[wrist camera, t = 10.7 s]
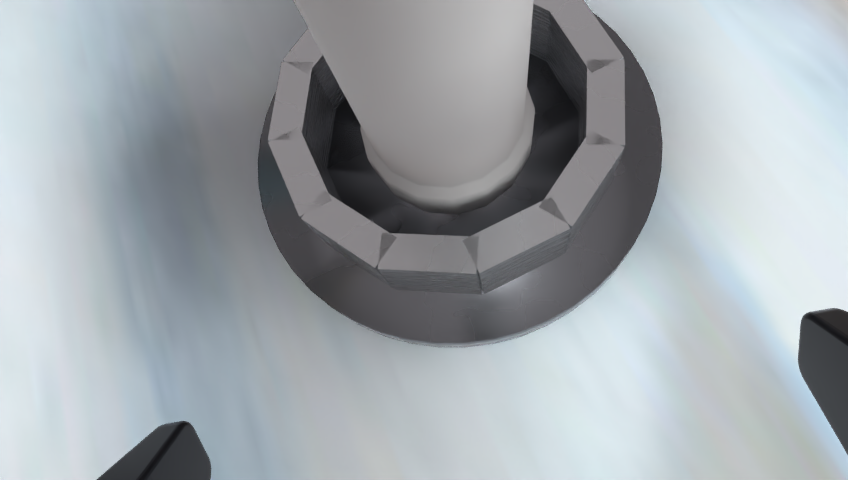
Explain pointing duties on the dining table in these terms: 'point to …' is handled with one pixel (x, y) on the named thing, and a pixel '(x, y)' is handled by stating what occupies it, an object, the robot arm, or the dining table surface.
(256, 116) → the dining table surface
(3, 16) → the dining table surface
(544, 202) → the grey ring
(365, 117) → the bottle
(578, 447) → the dining table surface
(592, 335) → the dining table surface
